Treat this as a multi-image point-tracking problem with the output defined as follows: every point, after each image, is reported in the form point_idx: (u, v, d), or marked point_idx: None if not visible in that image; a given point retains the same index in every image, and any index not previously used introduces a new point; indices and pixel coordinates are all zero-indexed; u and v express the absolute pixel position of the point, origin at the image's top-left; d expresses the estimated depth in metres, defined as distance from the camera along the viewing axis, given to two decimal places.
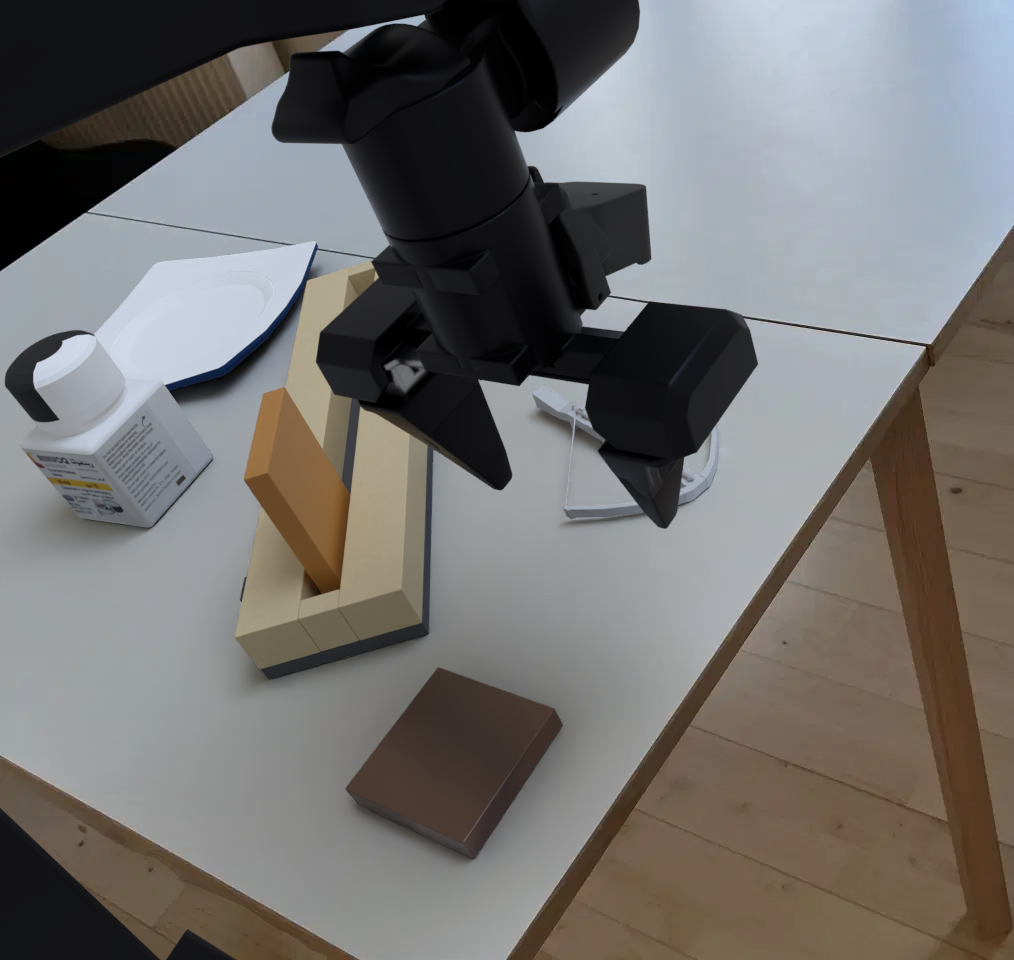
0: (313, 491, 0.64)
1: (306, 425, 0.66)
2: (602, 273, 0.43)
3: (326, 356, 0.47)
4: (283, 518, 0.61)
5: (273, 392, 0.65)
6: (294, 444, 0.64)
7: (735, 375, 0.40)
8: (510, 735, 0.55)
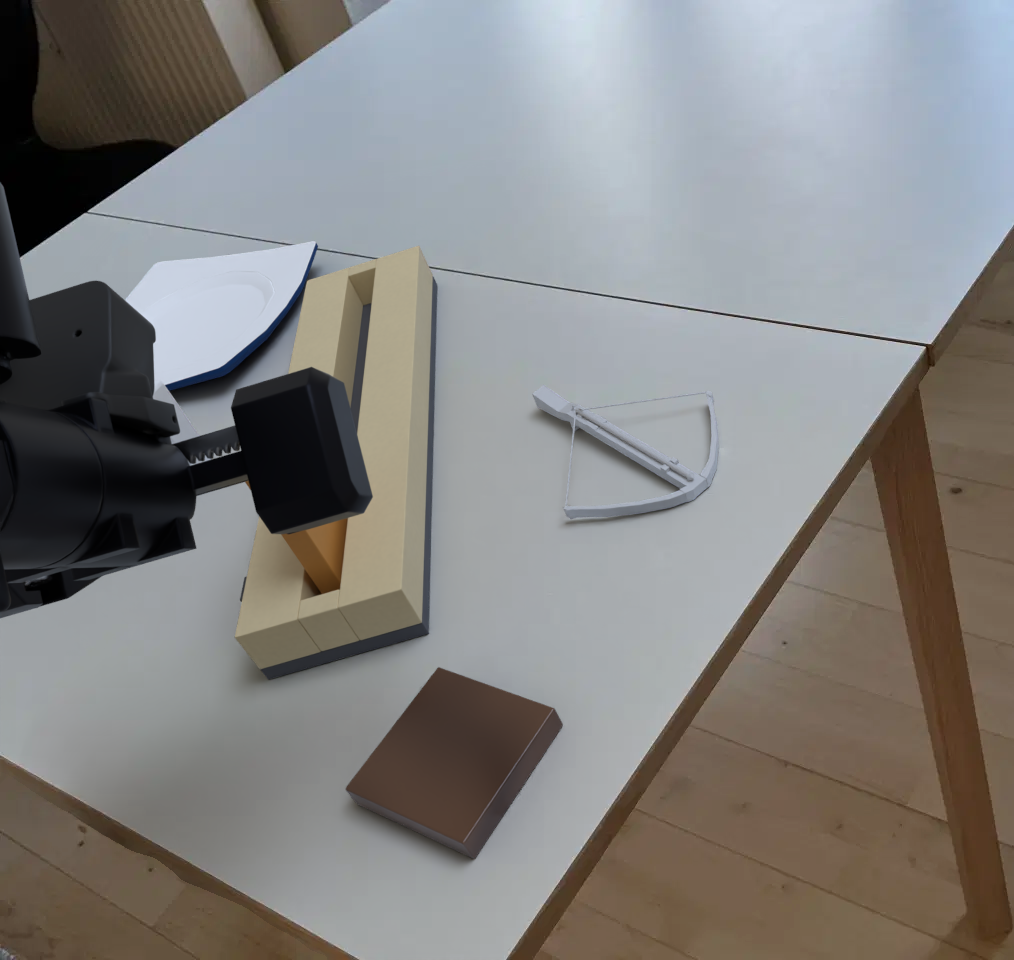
0: None
1: None
2: (161, 404, 0.44)
3: None
4: None
5: None
6: None
7: (346, 416, 0.46)
8: (510, 735, 0.55)
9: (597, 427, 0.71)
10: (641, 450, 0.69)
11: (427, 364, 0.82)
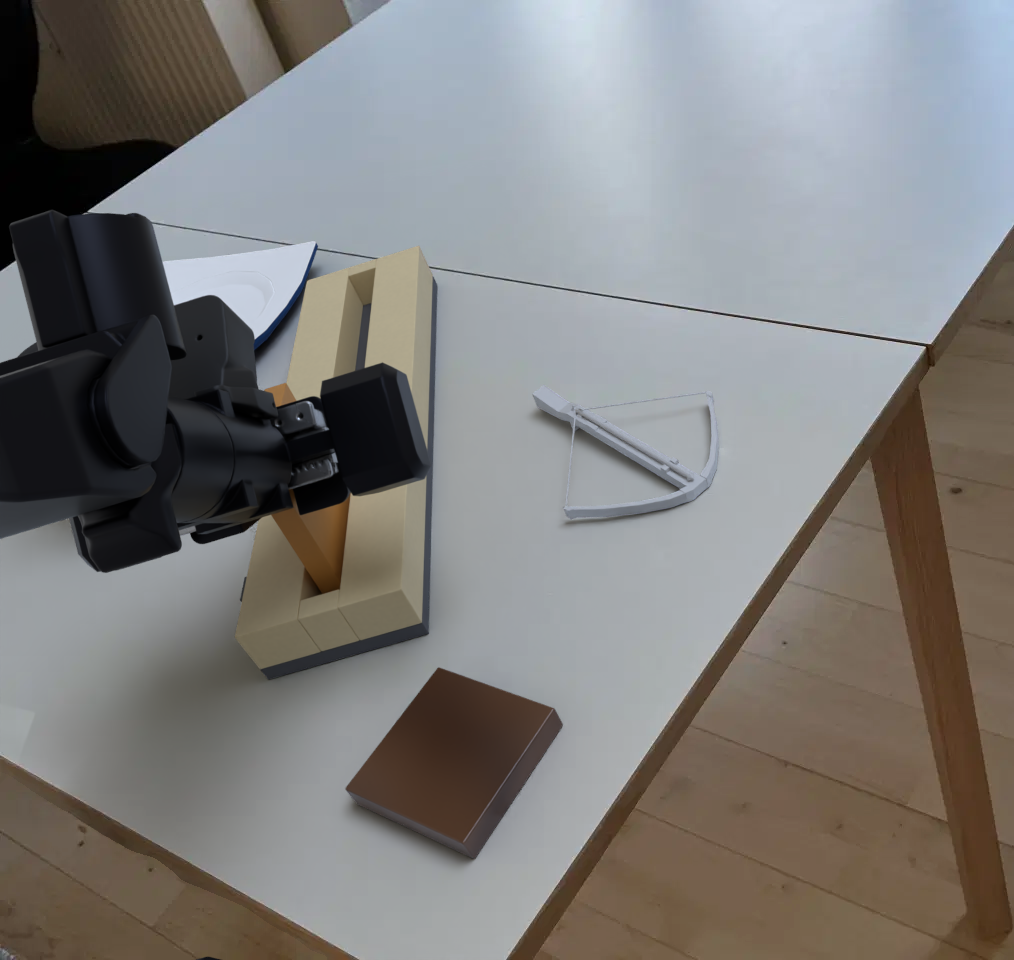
0: None
1: None
2: (264, 393, 0.56)
3: None
4: None
5: (274, 388, 0.65)
6: None
7: (410, 401, 0.58)
8: (510, 735, 0.55)
9: (597, 427, 0.71)
10: (641, 450, 0.69)
11: (427, 364, 0.82)
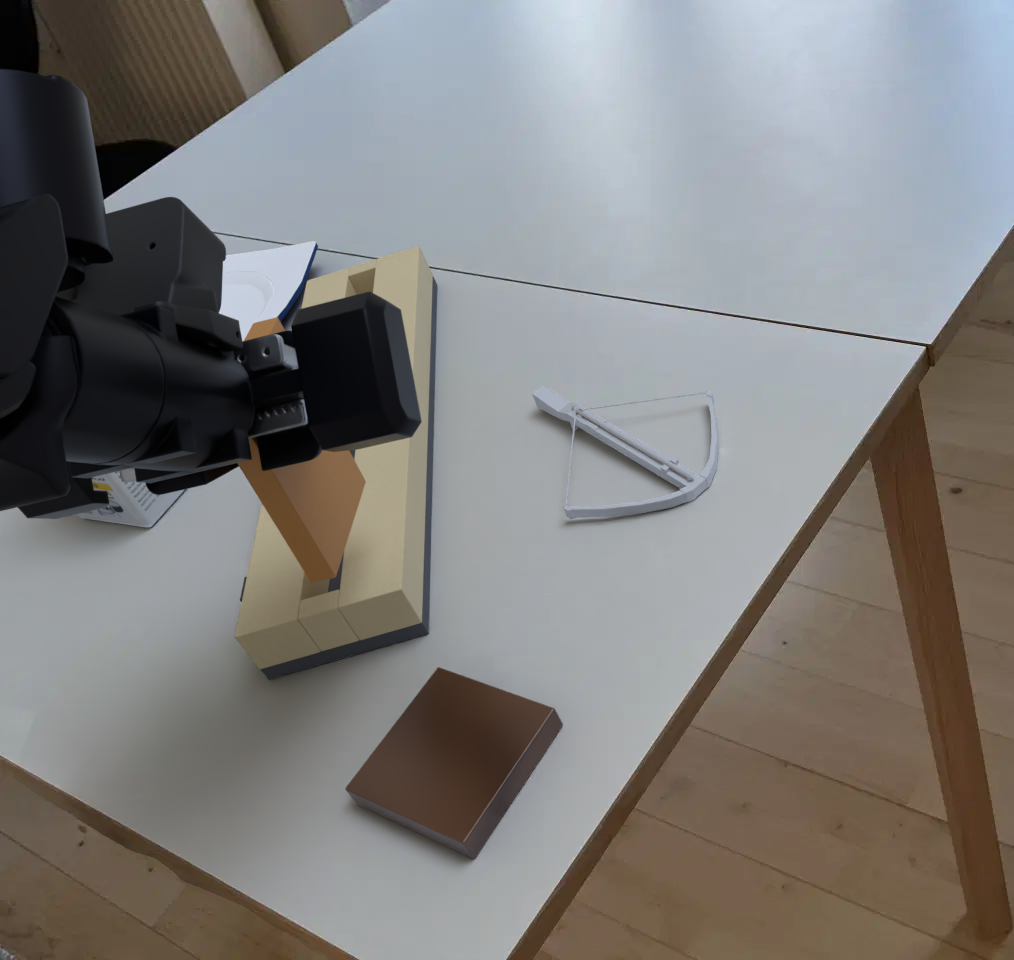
0: None
1: None
2: (226, 318, 0.46)
3: (35, 510, 0.49)
4: (251, 463, 0.52)
5: (264, 322, 0.56)
6: None
7: (401, 341, 0.47)
8: (510, 735, 0.55)
9: (597, 427, 0.71)
10: (641, 450, 0.69)
11: (427, 364, 0.82)
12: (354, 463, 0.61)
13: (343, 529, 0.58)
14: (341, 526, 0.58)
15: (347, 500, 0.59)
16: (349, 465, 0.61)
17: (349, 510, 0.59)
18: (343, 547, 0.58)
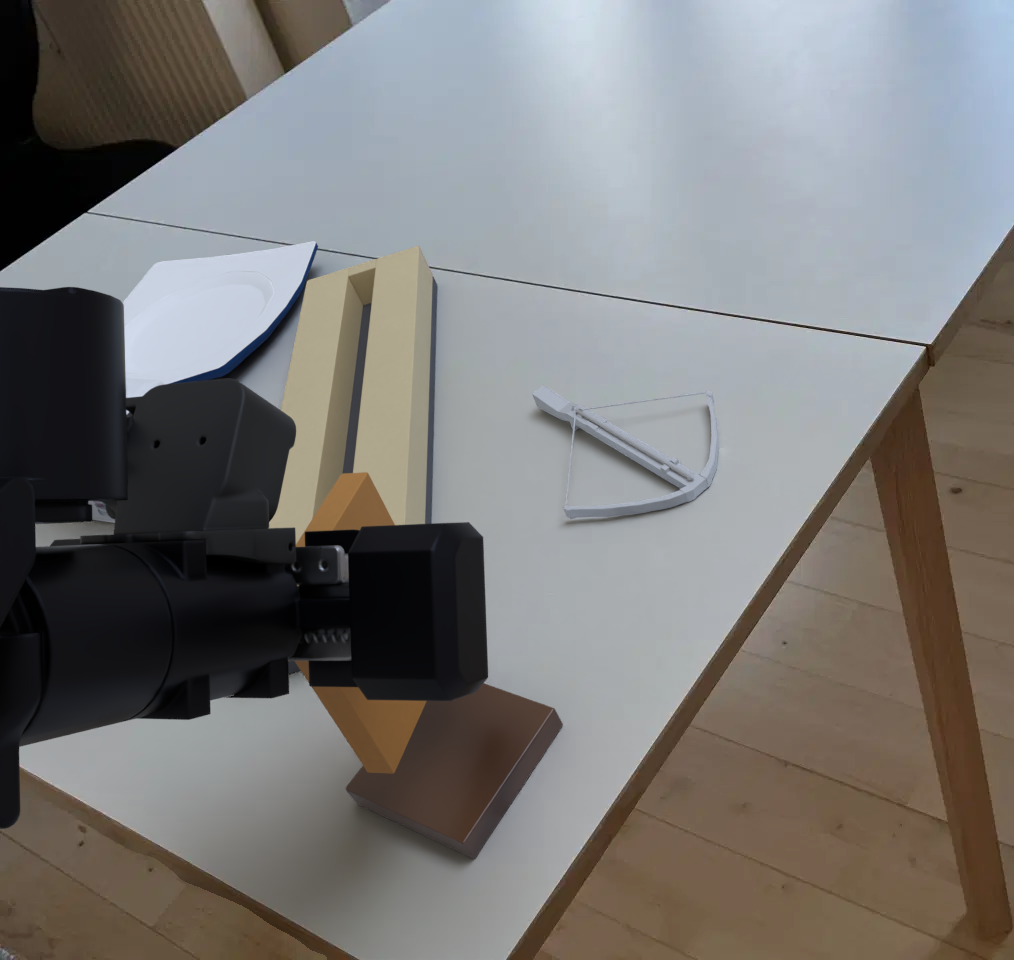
0: None
1: (390, 522, 0.50)
2: (277, 531, 0.39)
3: None
4: None
5: (352, 476, 0.49)
6: None
7: (475, 582, 0.39)
8: (510, 735, 0.55)
9: (597, 427, 0.71)
10: (641, 450, 0.69)
11: (427, 364, 0.82)
12: None
13: (414, 710, 0.51)
14: (411, 707, 0.51)
15: None
16: None
17: None
18: (410, 732, 0.51)
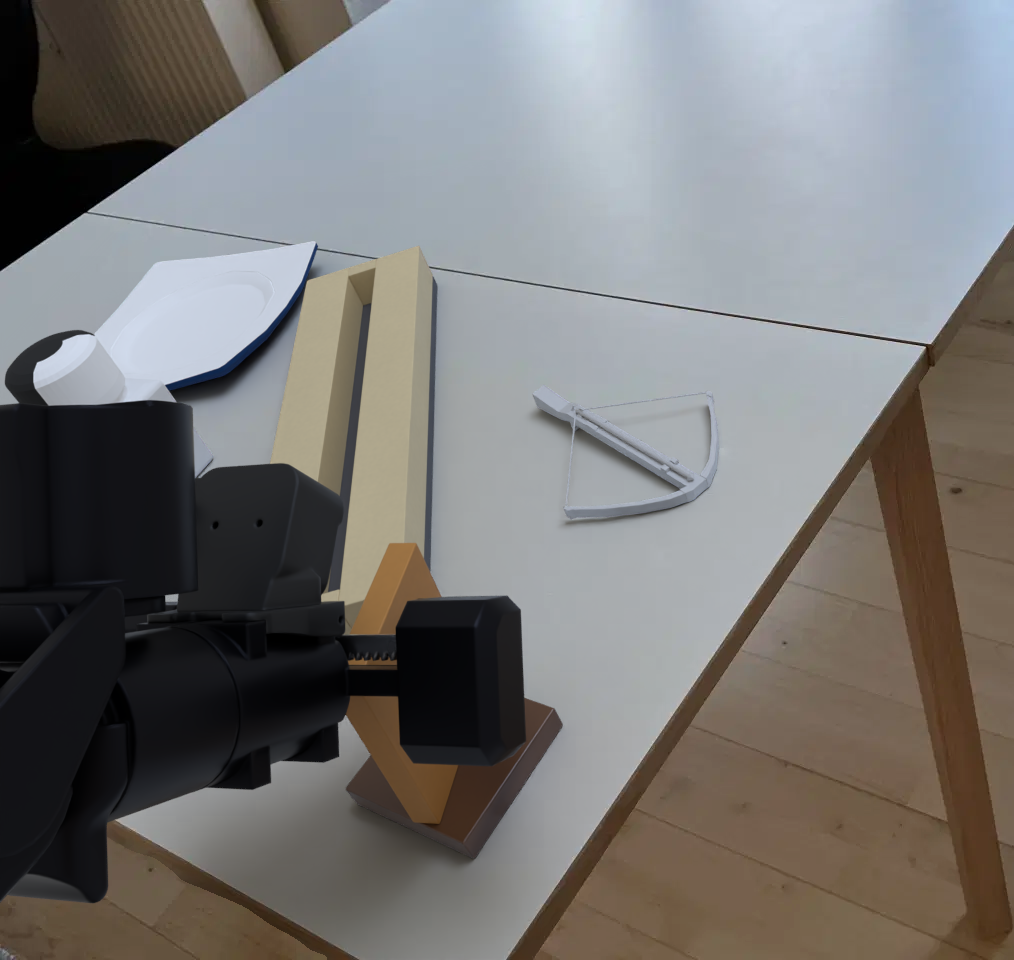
0: None
1: (434, 587, 0.52)
2: (329, 607, 0.42)
3: None
4: (369, 730, 0.47)
5: (401, 547, 0.51)
6: None
7: (514, 653, 0.42)
8: None
9: (597, 427, 0.71)
10: (641, 450, 0.69)
11: (427, 364, 0.82)
12: None
13: None
14: None
15: None
16: None
17: None
18: (451, 782, 0.54)
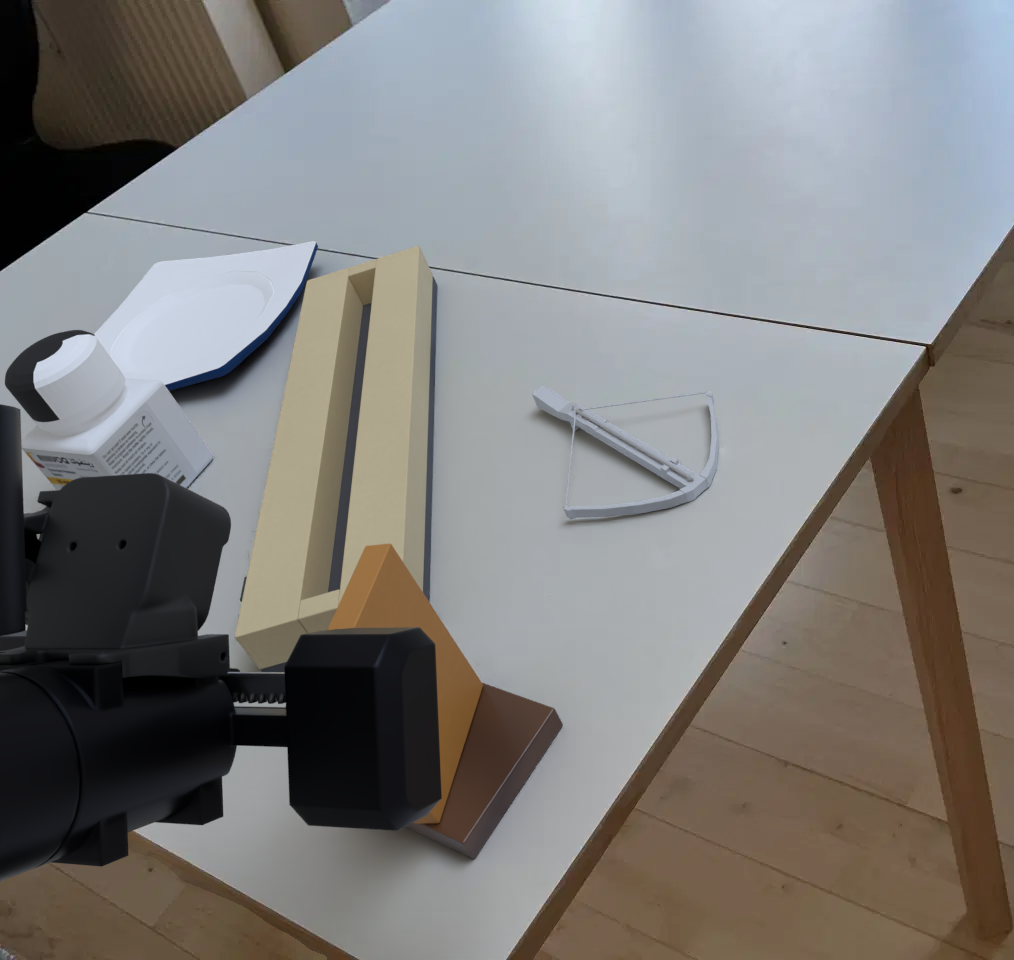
0: None
1: (415, 587, 0.52)
2: (207, 642, 0.35)
3: None
4: None
5: (376, 548, 0.51)
6: (388, 623, 0.50)
7: (426, 696, 0.36)
8: (510, 735, 0.55)
9: (597, 427, 0.71)
10: (641, 450, 0.69)
11: (427, 364, 0.82)
12: (471, 671, 0.57)
13: (452, 759, 0.54)
14: (449, 757, 0.54)
15: (459, 720, 0.55)
16: (464, 678, 0.56)
17: (461, 732, 0.55)
18: (450, 781, 0.54)
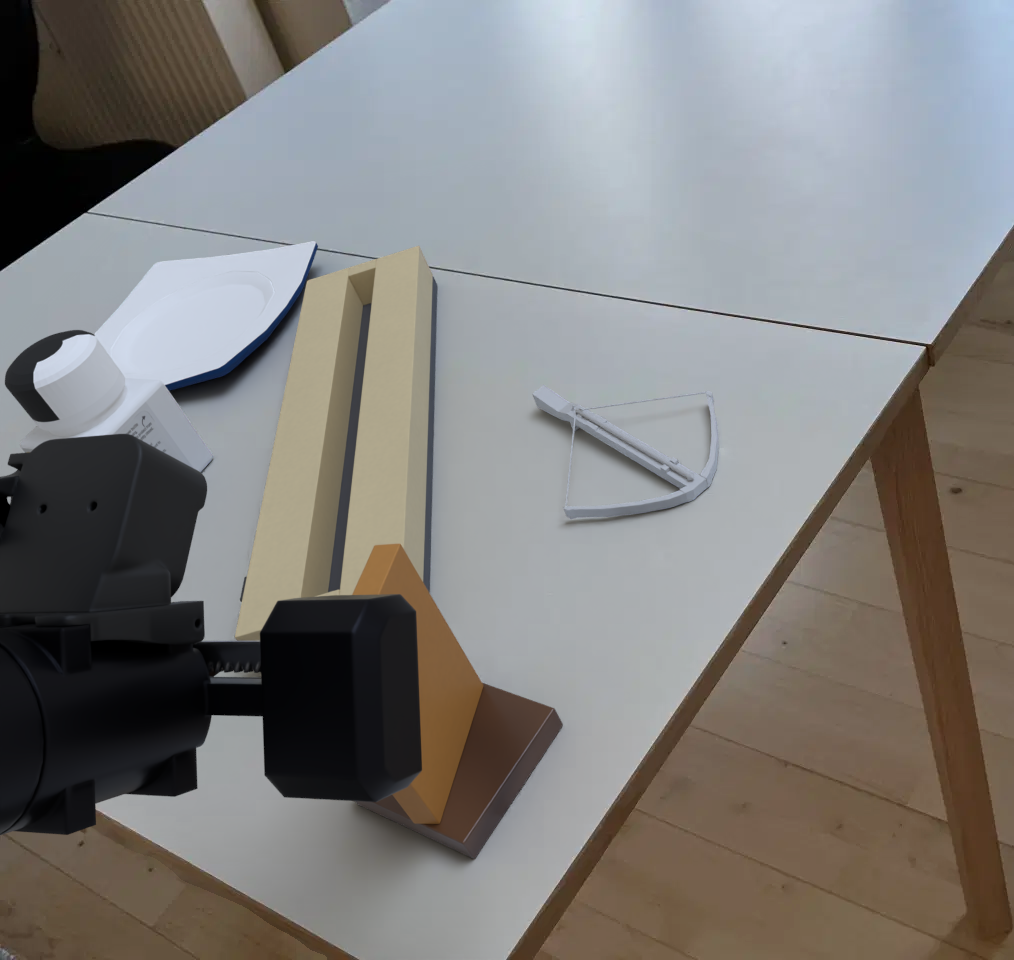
0: None
1: (422, 587, 0.52)
2: (181, 608, 0.34)
3: None
4: None
5: (385, 548, 0.51)
6: None
7: (406, 664, 0.35)
8: (510, 735, 0.55)
9: (597, 427, 0.71)
10: (641, 450, 0.69)
11: (427, 364, 0.82)
12: (472, 671, 0.57)
13: (453, 760, 0.54)
14: (450, 758, 0.54)
15: (460, 721, 0.55)
16: (466, 678, 0.56)
17: (462, 732, 0.55)
18: (451, 782, 0.54)
